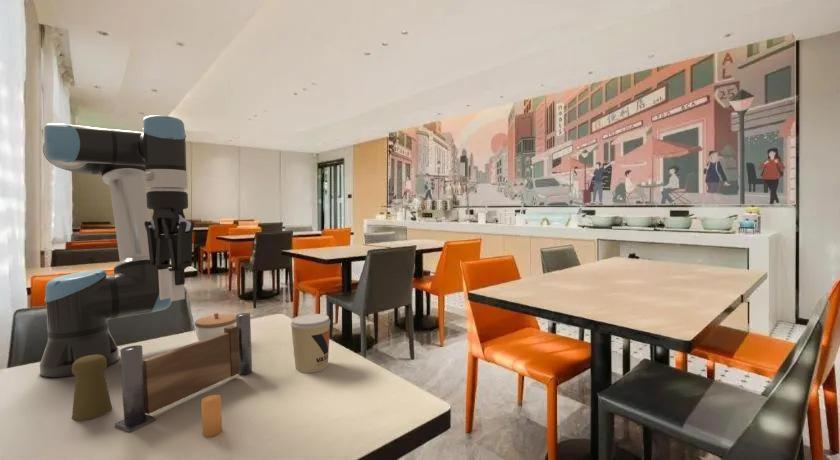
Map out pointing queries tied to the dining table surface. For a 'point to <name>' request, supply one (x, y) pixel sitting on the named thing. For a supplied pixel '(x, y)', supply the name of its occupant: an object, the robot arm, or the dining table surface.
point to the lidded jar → (213, 325)
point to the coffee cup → (310, 342)
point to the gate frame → (135, 376)
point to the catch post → (211, 415)
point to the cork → (90, 388)
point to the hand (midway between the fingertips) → (172, 298)
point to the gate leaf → (190, 369)
